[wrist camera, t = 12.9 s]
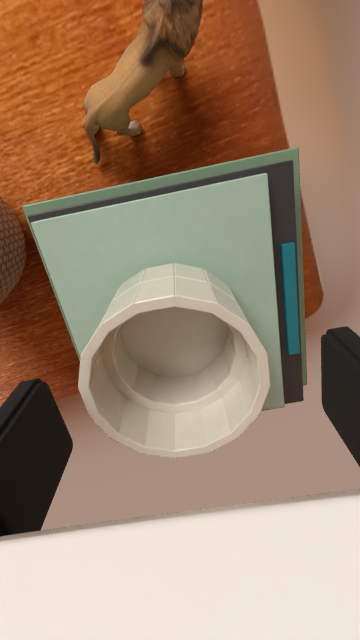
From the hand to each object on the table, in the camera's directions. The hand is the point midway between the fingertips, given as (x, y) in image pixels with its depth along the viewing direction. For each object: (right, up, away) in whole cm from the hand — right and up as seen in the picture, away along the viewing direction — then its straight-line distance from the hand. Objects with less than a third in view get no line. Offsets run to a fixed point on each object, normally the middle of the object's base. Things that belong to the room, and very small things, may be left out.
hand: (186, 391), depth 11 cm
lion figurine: (-4, +24, +17) cm, 29 cm away
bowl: (0, +2, +5) cm, 6 cm away
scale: (0, +3, +8) cm, 8 cm away
